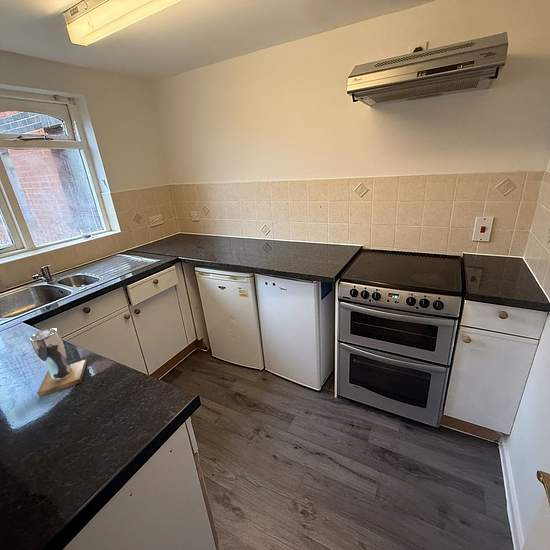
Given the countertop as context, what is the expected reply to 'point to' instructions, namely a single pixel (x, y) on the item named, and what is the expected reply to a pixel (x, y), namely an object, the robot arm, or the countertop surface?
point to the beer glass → (52, 353)
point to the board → (73, 379)
